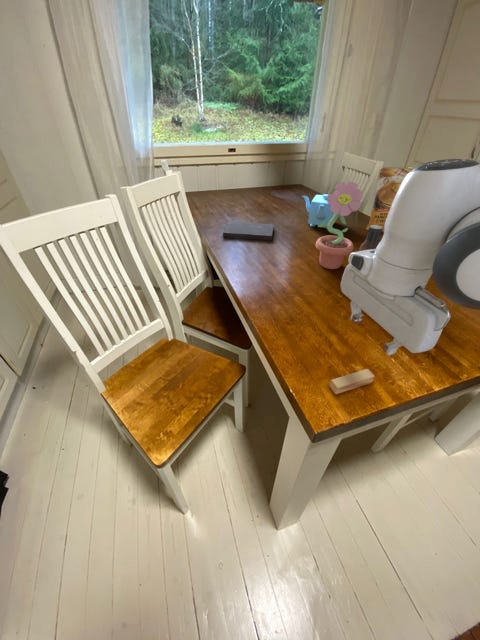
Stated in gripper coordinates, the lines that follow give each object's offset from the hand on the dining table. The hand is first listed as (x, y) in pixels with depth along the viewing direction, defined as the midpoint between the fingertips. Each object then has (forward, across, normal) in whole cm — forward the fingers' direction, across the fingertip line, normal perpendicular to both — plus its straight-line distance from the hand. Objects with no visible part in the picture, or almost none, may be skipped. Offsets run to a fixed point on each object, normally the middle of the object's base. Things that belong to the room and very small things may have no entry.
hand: (370, 335), depth 53 cm
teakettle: (+16, +93, -50) cm, 107 cm away
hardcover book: (+16, +93, -11) cm, 95 cm away
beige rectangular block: (+15, 0, 0) cm, 15 cm away
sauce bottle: (+15, +38, -32) cm, 52 cm away
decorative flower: (+16, +52, -29) cm, 62 cm away
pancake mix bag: (+15, +77, -77) cm, 110 cm away
